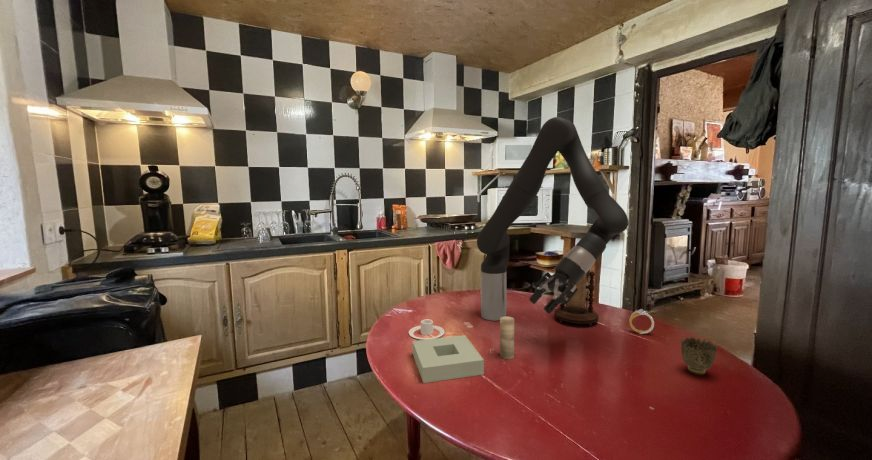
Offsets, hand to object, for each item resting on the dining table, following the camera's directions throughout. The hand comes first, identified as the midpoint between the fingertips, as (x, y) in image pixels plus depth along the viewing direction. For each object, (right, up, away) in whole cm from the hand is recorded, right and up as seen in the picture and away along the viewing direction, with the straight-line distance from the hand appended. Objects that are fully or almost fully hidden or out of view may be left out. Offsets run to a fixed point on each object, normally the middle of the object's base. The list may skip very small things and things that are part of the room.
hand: (538, 306), depth 105 cm
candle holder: (-33, -13, +17) cm, 39 cm away
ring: (+37, -12, +13) cm, 41 cm away
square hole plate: (-27, -15, -4) cm, 31 cm away
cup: (+37, -15, -11) cm, 42 cm away
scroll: (+21, -10, +26) cm, 35 cm away
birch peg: (-9, -14, 0) cm, 17 cm away
